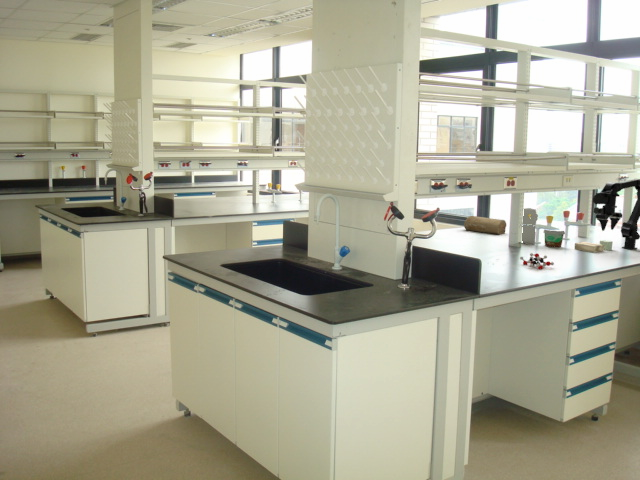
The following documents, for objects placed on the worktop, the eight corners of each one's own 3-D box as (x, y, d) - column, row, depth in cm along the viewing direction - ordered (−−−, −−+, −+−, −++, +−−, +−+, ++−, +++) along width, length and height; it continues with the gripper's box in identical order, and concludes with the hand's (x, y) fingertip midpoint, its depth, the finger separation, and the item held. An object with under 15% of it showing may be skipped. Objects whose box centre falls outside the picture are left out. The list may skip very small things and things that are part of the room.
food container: (540, 246, 368) (542, 230, 367) (542, 244, 374) (543, 228, 372) (562, 248, 363) (564, 231, 361) (563, 247, 368) (565, 230, 366)
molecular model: (546, 264, 315) (560, 264, 300) (526, 276, 314) (539, 277, 299) (536, 246, 315) (549, 246, 300) (516, 259, 313) (528, 258, 298)
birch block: (584, 248, 368) (585, 241, 367) (603, 251, 358) (603, 245, 357) (574, 249, 362) (575, 242, 362) (592, 253, 353) (593, 246, 352)
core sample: (498, 235, 408) (499, 220, 407) (463, 230, 426) (464, 216, 424) (507, 233, 418) (509, 219, 417) (473, 228, 436) (474, 215, 434)
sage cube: (603, 248, 368) (604, 240, 367) (611, 249, 363) (612, 241, 363) (599, 249, 365) (599, 240, 364) (606, 250, 361) (607, 242, 360)
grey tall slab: (535, 243, 377) (539, 208, 374) (534, 244, 374) (537, 209, 370) (518, 242, 382) (521, 207, 379) (516, 242, 379) (519, 207, 375)
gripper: (606, 201, 371) (604, 227, 374) (588, 203, 361) (585, 229, 364) (624, 203, 362) (621, 229, 365) (605, 205, 352) (603, 231, 354)
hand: (607, 230), depth 362 cm, fingers open, 9 cm apart
